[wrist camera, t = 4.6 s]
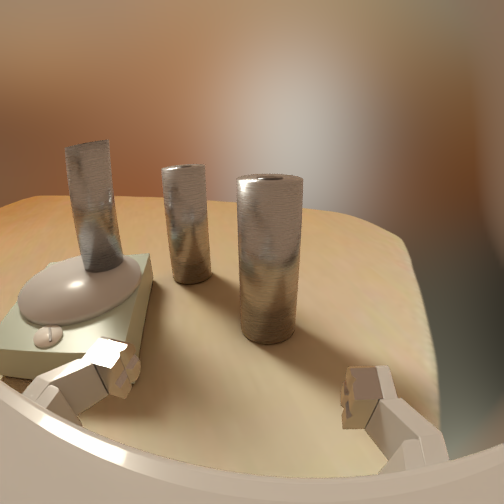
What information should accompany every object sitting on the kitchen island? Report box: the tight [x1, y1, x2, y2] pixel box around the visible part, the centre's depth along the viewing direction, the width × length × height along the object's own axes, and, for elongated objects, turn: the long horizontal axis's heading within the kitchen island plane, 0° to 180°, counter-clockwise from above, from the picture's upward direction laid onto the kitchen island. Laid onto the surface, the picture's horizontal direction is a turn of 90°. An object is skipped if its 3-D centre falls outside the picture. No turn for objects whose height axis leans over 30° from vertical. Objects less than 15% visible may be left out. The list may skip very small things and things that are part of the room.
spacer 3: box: [237, 174, 303, 344], centre depth 21 cm, size 4×4×12 cm
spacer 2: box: [162, 164, 211, 284], centre depth 30 cm, size 4×4×12 cm
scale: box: [0, 253, 153, 384], centre depth 22 cm, size 13×16×4 cm
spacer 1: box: [65, 140, 124, 273], centre depth 24 cm, size 4×4×12 cm
